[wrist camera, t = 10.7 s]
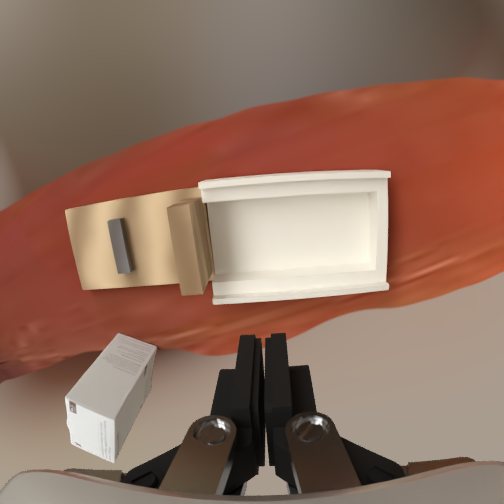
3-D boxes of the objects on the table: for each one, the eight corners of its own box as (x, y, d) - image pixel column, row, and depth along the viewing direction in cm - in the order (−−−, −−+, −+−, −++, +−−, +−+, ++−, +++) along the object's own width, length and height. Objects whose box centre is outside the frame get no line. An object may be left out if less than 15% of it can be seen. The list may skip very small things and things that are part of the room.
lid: (205, 185, 33) (189, 192, 26) (217, 275, 36) (207, 303, 29) (71, 208, 34) (34, 220, 27) (88, 285, 37) (58, 310, 29)
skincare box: (151, 388, 40) (118, 467, 26) (113, 375, 40) (69, 446, 26) (158, 342, 38) (117, 423, 24) (115, 328, 38) (61, 399, 24)
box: (375, 169, 32) (390, 171, 27) (375, 275, 35) (388, 289, 31) (206, 179, 33) (198, 182, 28) (218, 287, 36) (213, 304, 32)
